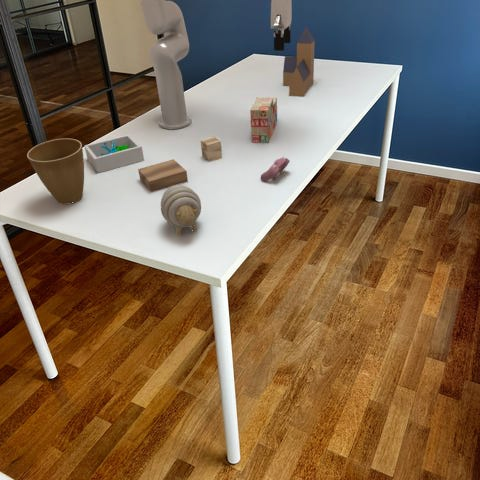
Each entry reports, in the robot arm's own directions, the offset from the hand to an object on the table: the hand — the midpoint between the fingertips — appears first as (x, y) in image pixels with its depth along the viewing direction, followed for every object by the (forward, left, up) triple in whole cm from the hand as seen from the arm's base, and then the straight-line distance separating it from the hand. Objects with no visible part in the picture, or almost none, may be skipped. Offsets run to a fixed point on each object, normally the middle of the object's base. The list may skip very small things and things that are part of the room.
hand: (282, 46), depth 157 cm
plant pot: (+1, -78, -31) cm, 83 cm away
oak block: (+1, -30, -31) cm, 42 cm away
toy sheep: (+34, -55, -31) cm, 71 cm away
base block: (+7, -50, -31) cm, 59 cm away
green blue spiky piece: (-17, -57, -31) cm, 67 cm away
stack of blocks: (-7, -4, -31) cm, 32 cm away
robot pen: (-17, -58, -30) cm, 67 cm away
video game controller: (+25, -20, -31) cm, 44 cm away
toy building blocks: (-40, +33, -31) cm, 60 cm away
